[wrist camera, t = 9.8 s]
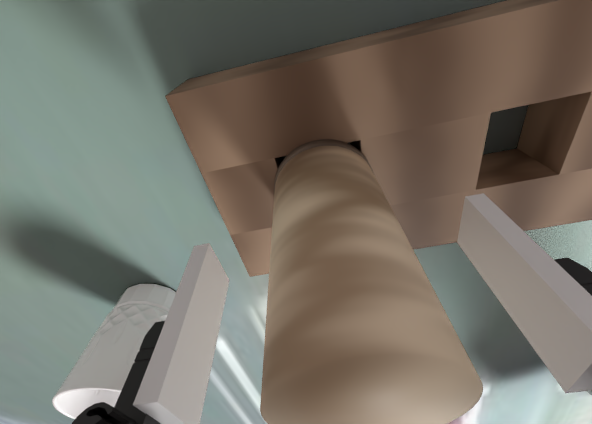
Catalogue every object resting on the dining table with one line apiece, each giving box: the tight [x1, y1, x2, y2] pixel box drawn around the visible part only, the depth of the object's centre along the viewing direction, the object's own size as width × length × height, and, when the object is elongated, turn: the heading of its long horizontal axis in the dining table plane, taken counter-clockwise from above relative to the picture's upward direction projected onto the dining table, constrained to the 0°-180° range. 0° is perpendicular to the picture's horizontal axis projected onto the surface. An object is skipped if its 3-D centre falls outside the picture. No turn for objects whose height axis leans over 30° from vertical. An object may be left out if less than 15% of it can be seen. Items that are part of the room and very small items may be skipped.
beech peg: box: [260, 139, 483, 424], centre depth 14 cm, size 6×6×16 cm
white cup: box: [52, 284, 176, 419], centre depth 26 cm, size 8×8×10 cm
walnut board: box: [165, 0, 592, 277], centre depth 18 cm, size 26×14×4 cm, turn 102°
